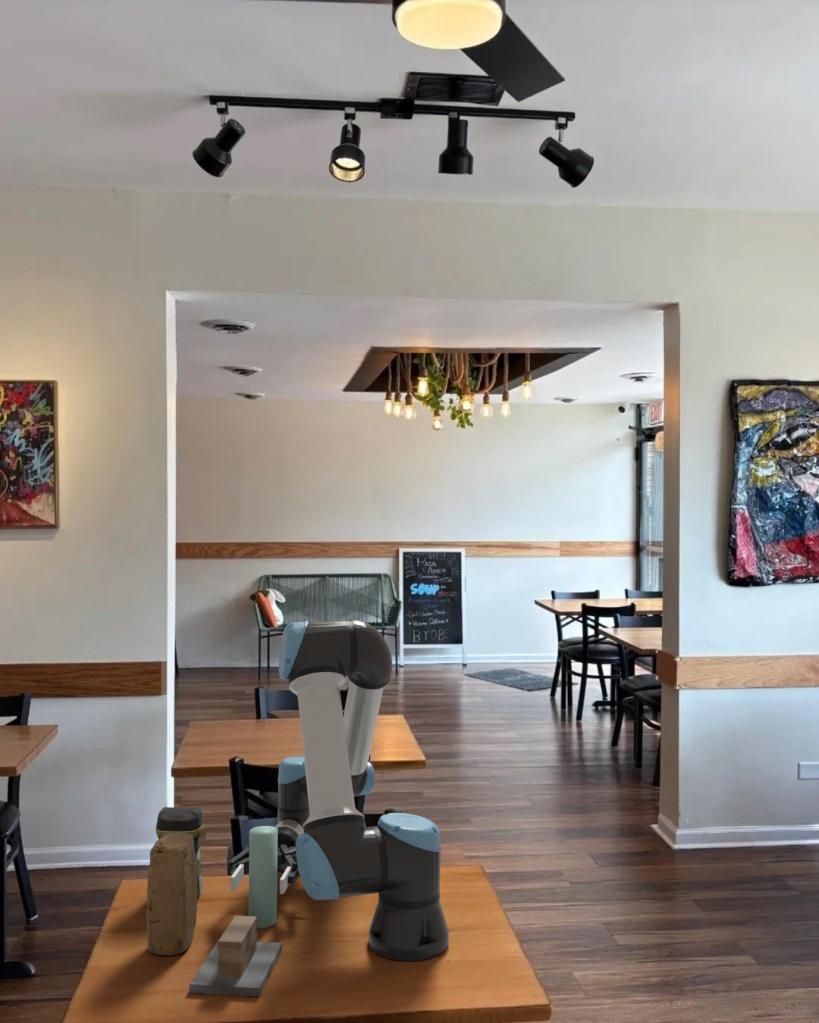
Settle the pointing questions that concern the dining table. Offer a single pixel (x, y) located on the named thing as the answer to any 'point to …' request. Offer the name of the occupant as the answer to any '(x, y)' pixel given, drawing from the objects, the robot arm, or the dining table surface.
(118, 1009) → the dining table surface
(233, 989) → the ridge stand
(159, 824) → the coffee jar
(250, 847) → the cylinder
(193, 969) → the dining table surface
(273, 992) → the dining table surface
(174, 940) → the block
